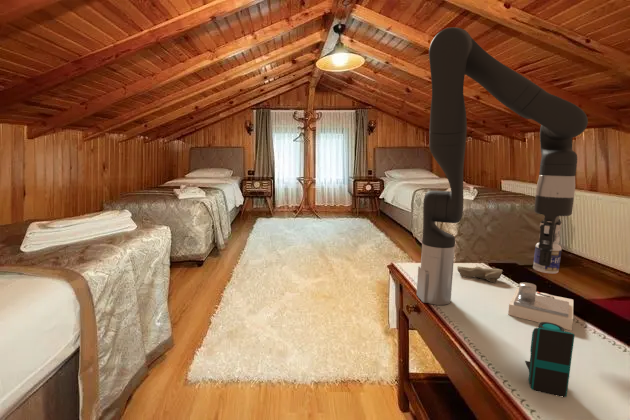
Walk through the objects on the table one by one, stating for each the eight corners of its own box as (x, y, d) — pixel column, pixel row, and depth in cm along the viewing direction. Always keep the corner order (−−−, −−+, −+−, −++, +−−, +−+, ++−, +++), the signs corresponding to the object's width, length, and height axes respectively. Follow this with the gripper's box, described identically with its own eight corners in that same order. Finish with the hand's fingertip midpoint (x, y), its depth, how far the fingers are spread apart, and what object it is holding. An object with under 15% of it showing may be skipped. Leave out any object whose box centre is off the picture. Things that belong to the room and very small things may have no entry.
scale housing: (571, 330, 84) (573, 317, 83) (508, 314, 92) (509, 302, 92) (572, 309, 96) (573, 298, 96) (516, 297, 105) (517, 286, 104)
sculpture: (456, 280, 122) (502, 284, 115) (456, 267, 122) (502, 271, 115) (458, 275, 129) (502, 279, 122) (458, 263, 128) (502, 266, 121)
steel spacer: (524, 301, 92) (526, 287, 91) (515, 295, 96) (516, 282, 95) (538, 301, 92) (539, 287, 92) (528, 295, 96) (529, 282, 96)
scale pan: (568, 317, 84) (568, 314, 84) (513, 304, 92) (513, 301, 91) (568, 304, 92) (569, 301, 92) (518, 293, 99) (518, 291, 99)
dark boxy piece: (558, 311, 67) (576, 334, 57) (551, 366, 68) (567, 398, 59) (525, 306, 69) (537, 328, 59) (519, 360, 70) (530, 390, 61)
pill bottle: (549, 275, 79) (554, 238, 78) (528, 268, 84) (531, 234, 82) (563, 272, 81) (568, 236, 80) (541, 266, 86) (545, 232, 85)
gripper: (571, 198, 72) (561, 273, 74) (576, 193, 83) (568, 259, 85) (530, 195, 77) (522, 266, 79) (540, 191, 88) (533, 254, 90)
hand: (546, 262), depth 82 cm, fingers closed on pill bottle, 5 cm apart
